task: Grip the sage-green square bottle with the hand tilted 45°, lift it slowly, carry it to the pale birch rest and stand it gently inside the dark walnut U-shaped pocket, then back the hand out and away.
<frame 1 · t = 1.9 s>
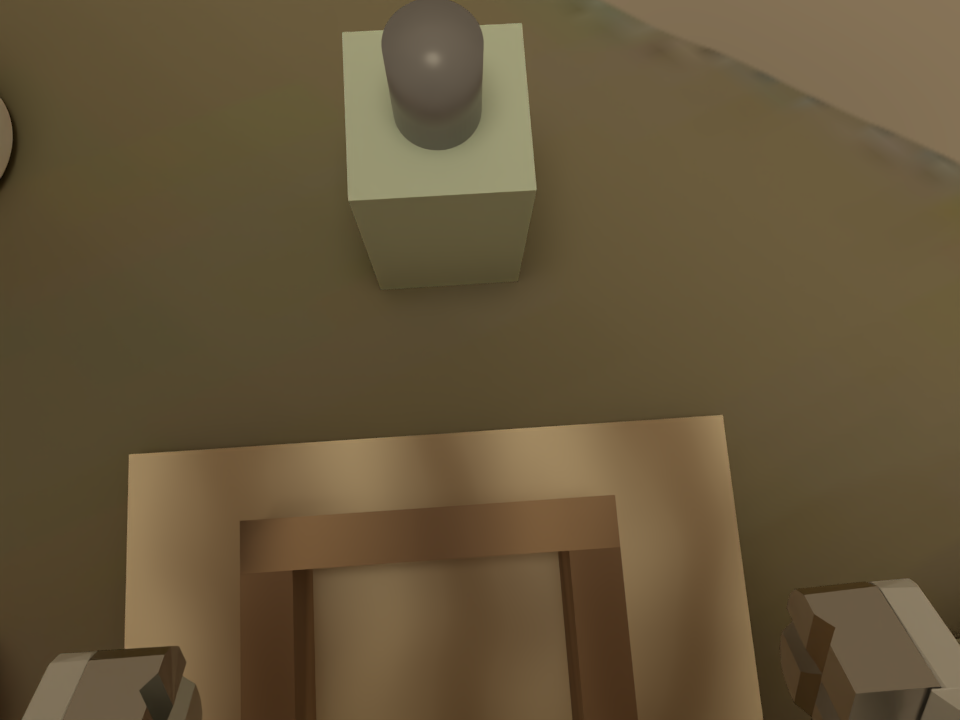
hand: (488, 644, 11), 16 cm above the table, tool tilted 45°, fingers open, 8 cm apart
sage bottle: (445, 221, 29), on the table
u rest: (443, 680, 26), on the table
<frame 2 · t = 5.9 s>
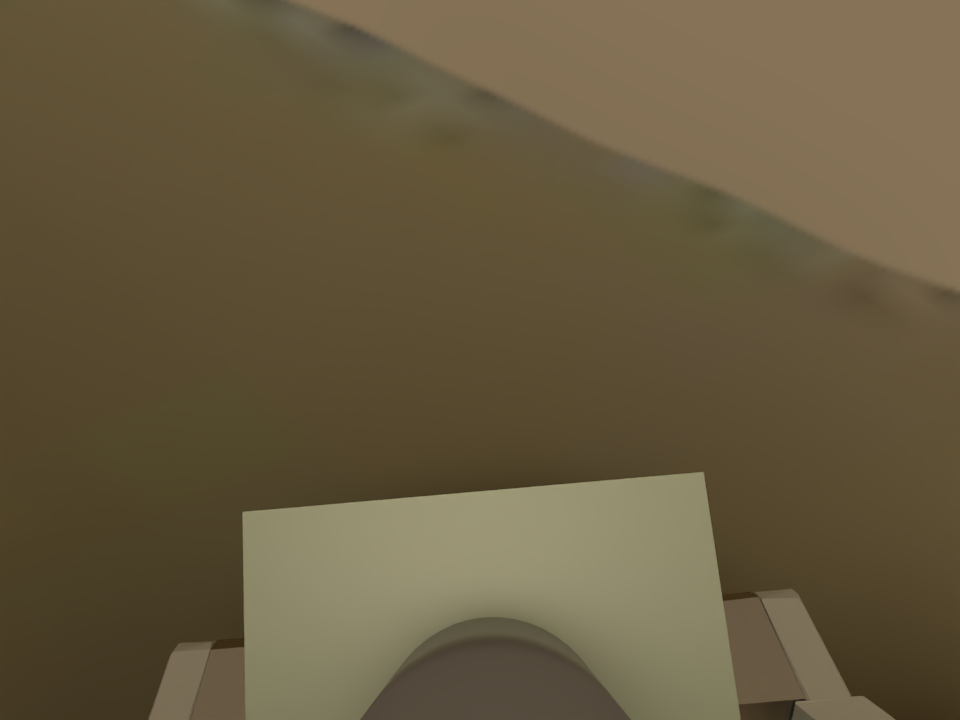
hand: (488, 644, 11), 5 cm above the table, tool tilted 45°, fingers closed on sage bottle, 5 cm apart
sage bottle: (492, 645, 16), on the table, touching gripper
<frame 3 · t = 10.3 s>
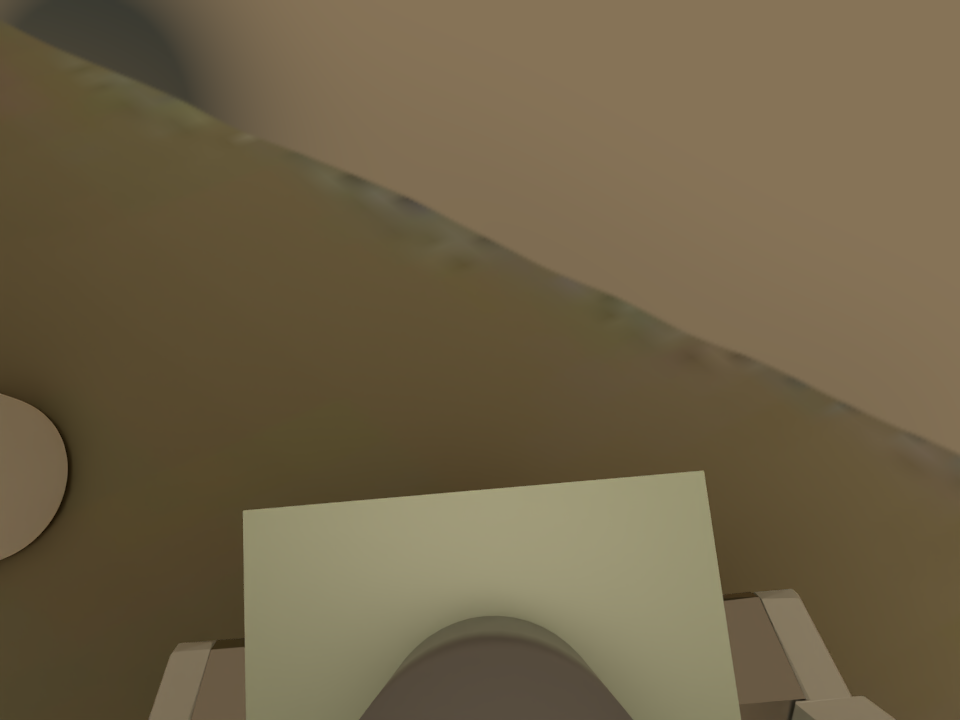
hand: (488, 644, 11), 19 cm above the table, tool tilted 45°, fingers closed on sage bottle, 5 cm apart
sage bottle: (492, 644, 16), point 14 cm above the table, touching gripper
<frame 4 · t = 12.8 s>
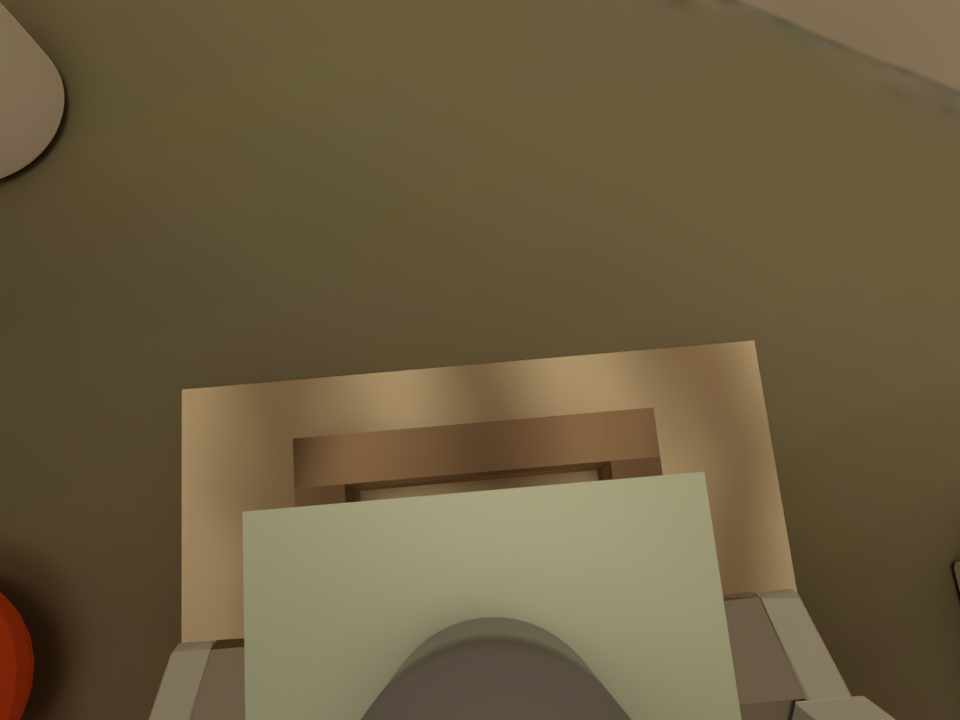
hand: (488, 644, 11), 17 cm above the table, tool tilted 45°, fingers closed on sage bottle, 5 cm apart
sage bottle: (492, 645, 16), point 11 cm above the table, touching gripper
u rest: (489, 601, 27), on the table
when the fingers open (8 cm above the table, at t = 15.0 s): sage bottle drops 1 cm, resting on u rest.
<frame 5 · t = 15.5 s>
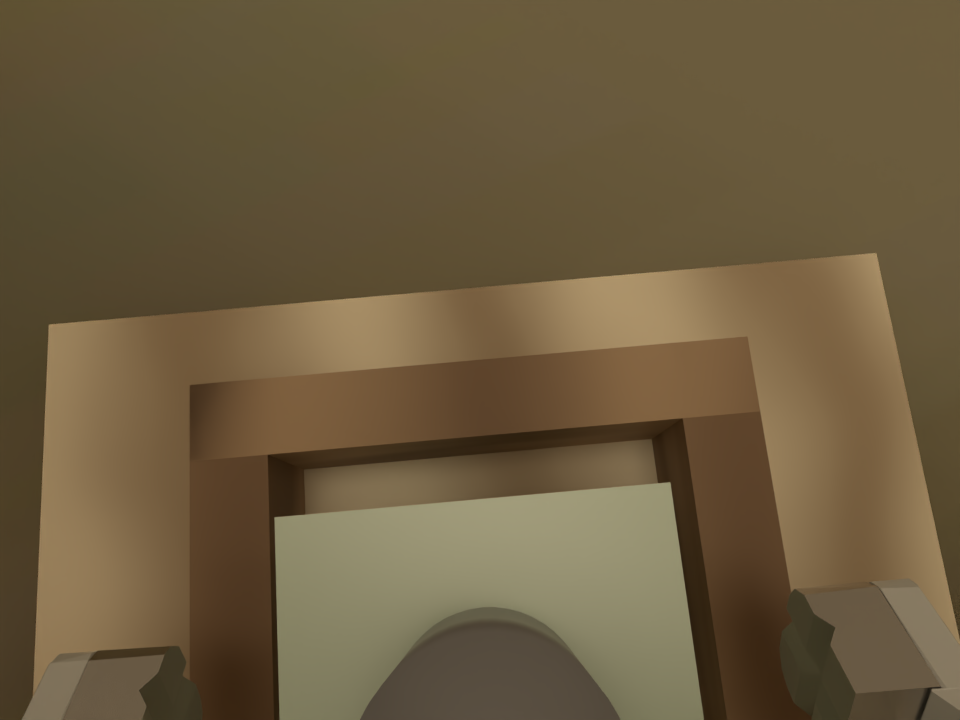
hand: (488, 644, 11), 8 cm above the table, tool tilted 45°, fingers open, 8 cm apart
sage bottle: (490, 637, 17), point 1 cm above the table, touching u rest
u rest: (493, 632, 18), on the table
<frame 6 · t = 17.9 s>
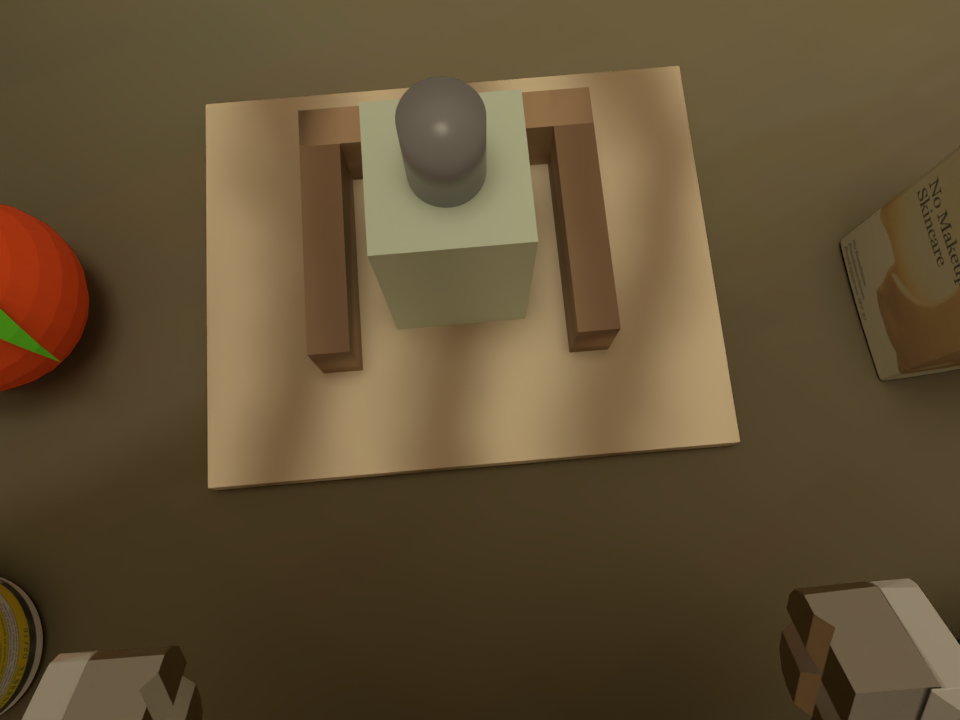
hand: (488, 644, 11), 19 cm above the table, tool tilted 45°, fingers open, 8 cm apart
sage bottle: (456, 263, 31), point 1 cm above the table, touching u rest
u rest: (459, 272, 32), on the table
skincare box: (905, 306, 32), on the table
clementine: (48, 332, 32), on the table
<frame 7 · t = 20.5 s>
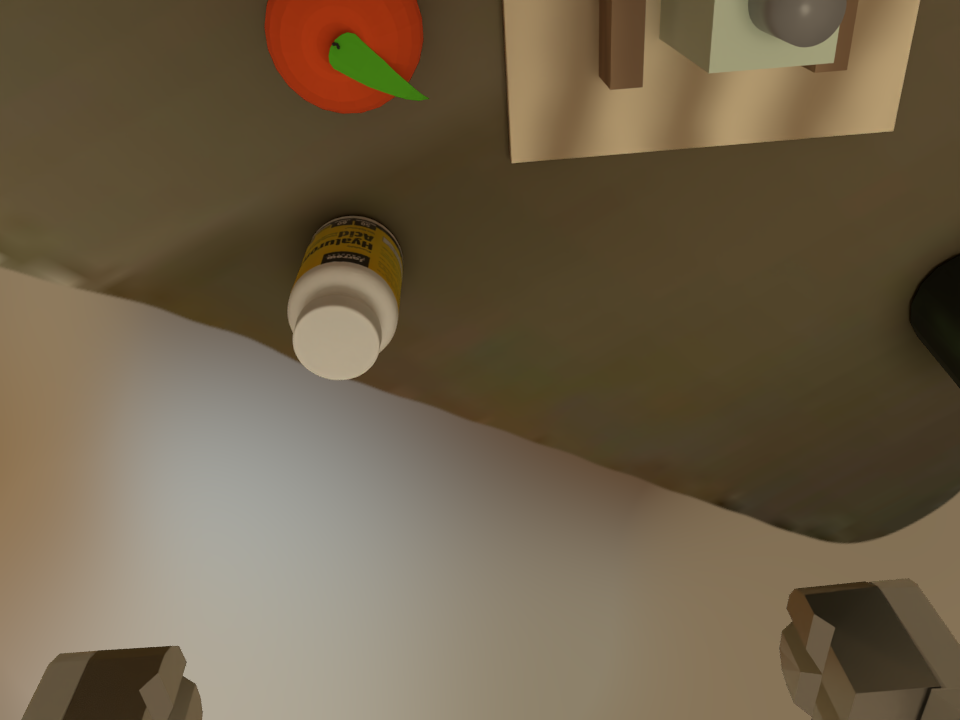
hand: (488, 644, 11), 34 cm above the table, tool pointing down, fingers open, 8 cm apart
supplement bottle: (355, 256, 45), on the table
clementine: (362, 26, 38), on the table
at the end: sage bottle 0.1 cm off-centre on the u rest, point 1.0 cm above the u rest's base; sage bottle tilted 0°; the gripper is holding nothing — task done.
